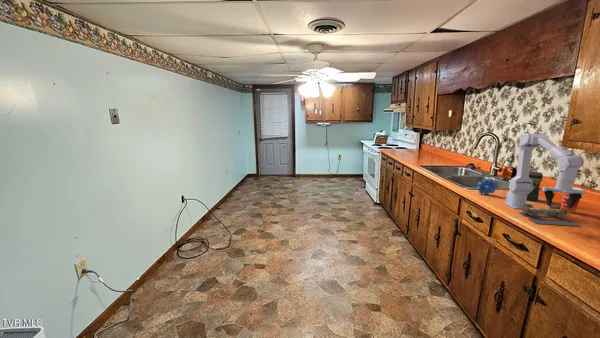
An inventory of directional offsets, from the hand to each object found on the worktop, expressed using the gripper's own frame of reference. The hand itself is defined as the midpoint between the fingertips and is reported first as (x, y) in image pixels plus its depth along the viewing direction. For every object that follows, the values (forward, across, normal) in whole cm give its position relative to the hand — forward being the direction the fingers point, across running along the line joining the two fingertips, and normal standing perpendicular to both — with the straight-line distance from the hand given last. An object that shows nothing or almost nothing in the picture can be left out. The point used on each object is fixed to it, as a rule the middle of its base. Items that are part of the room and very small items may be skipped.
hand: (558, 206), depth 122 cm
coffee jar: (+10, +4, +44) cm, 46 cm away
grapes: (+11, -19, +44) cm, 49 cm away
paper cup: (+10, +16, +27) cm, 33 cm away
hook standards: (+10, -1, +11) cm, 15 cm away
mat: (+10, +1, +4) cm, 11 cm away
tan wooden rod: (+7, 0, +10) cm, 12 cm away
